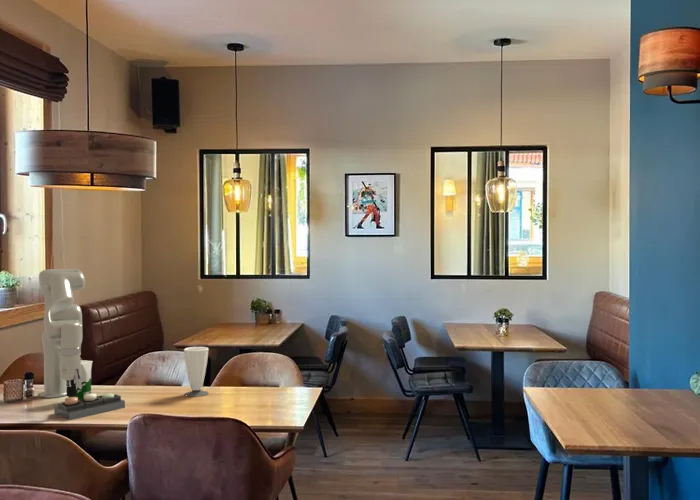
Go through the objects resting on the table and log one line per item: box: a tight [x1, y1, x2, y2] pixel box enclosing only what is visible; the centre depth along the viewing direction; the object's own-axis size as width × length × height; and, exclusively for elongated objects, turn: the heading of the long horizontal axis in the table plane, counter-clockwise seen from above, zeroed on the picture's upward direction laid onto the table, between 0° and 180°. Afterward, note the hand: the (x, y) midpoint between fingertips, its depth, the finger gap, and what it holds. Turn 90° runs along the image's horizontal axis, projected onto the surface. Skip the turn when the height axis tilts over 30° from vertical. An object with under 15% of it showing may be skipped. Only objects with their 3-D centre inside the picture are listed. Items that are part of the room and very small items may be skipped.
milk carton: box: [67, 358, 93, 400], centre depth 267 cm, size 9×9×20 cm
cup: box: [183, 346, 210, 398], centre depth 280 cm, size 12×12×22 cm
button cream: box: [84, 392, 98, 401], centre depth 253 cm, size 5×5×2 cm
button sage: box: [101, 392, 115, 399], centre depth 259 cm, size 5×5×2 cm
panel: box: [53, 393, 126, 421], centre depth 253 cm, size 14×24×5 cm, turn 139°
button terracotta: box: [64, 396, 78, 405], centre depth 247 cm, size 5×5×2 cm
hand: (71, 395), depth 246 cm, fingers closed
